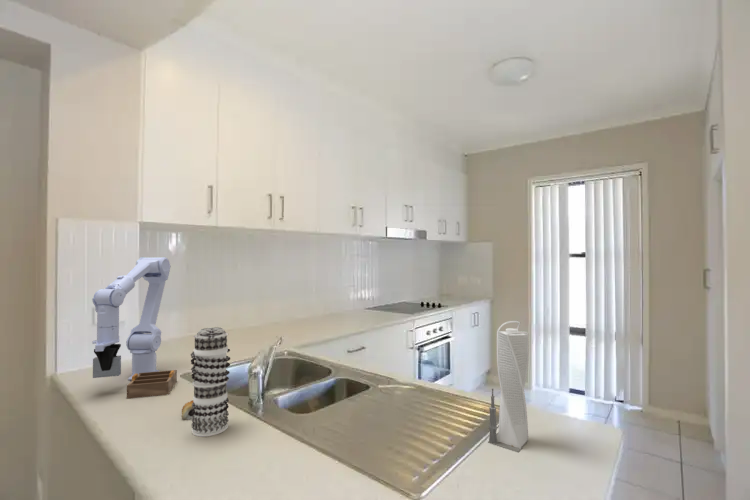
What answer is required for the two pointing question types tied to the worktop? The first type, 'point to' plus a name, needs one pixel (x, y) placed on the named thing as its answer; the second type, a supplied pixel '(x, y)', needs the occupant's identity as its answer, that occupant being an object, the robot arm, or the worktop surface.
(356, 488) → the worktop surface
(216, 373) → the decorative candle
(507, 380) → the skyscraper
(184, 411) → the pastry
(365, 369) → the worktop surface
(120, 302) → the robot arm
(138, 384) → the rack
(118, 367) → the panel
